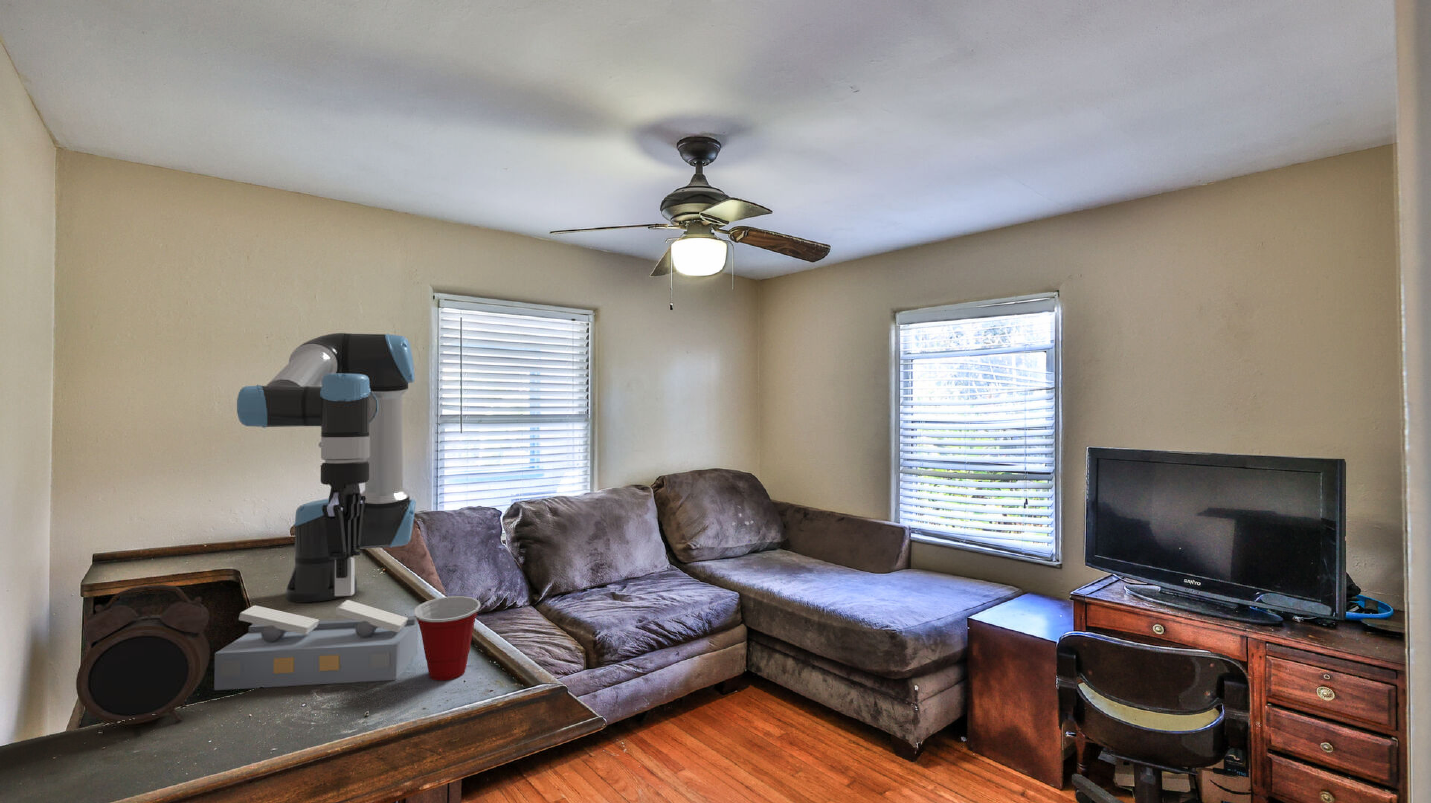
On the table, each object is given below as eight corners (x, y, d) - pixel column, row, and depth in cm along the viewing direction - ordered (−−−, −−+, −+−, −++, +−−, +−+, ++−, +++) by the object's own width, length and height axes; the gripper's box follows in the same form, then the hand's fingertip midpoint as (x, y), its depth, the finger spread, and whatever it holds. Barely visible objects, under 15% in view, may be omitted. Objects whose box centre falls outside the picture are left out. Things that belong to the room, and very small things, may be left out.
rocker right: (339, 619, 118) (347, 599, 118) (400, 637, 119) (408, 617, 120) (329, 627, 114) (337, 607, 114) (392, 646, 115) (400, 625, 115)
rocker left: (248, 625, 116) (254, 605, 116) (312, 639, 117) (319, 619, 117) (233, 634, 111) (240, 612, 111) (301, 648, 113) (307, 627, 113)
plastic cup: (407, 691, 107) (407, 617, 107) (418, 665, 118) (419, 598, 118) (477, 683, 110) (477, 611, 110) (483, 659, 120) (483, 594, 120)
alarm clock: (69, 746, 89) (70, 599, 90) (90, 723, 96) (91, 586, 96) (201, 723, 96) (202, 586, 96) (213, 703, 102) (214, 575, 103)
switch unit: (254, 661, 119) (254, 623, 119) (417, 653, 123) (417, 616, 123) (213, 690, 107) (213, 647, 107) (395, 680, 111) (395, 638, 111)
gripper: (338, 458, 122) (337, 585, 122) (305, 464, 109) (304, 606, 109) (381, 457, 123) (380, 584, 123) (353, 463, 110) (352, 604, 110)
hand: (344, 594), depth 116 cm, fingers closed
